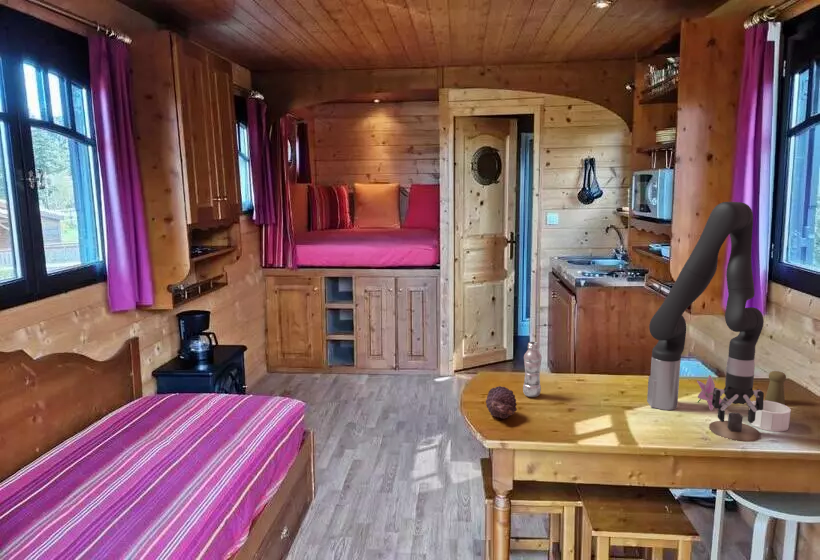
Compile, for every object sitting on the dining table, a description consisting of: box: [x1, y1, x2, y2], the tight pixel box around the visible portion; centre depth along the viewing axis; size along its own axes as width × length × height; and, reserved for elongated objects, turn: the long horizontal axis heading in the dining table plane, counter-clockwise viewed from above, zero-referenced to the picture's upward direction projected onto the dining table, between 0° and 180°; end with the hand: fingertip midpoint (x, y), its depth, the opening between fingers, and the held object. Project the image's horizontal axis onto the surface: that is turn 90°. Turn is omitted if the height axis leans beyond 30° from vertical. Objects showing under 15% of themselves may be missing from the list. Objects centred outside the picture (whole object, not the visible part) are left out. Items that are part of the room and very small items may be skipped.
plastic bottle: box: [522, 341, 543, 398], centre depth 216 cm, size 6×7×20 cm
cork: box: [764, 370, 787, 405], centre depth 210 cm, size 6×6×11 cm
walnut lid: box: [708, 412, 761, 442], centre depth 186 cm, size 14×14×6 cm
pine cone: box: [485, 385, 518, 420], centre depth 199 cm, size 18×10×10 cm, turn 6°
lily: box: [696, 375, 723, 412], centre depth 207 cm, size 12×12×10 cm
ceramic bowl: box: [748, 400, 792, 433], centre depth 191 cm, size 11×11×6 cm
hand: (735, 421), depth 186 cm, fingers open, 8 cm apart
